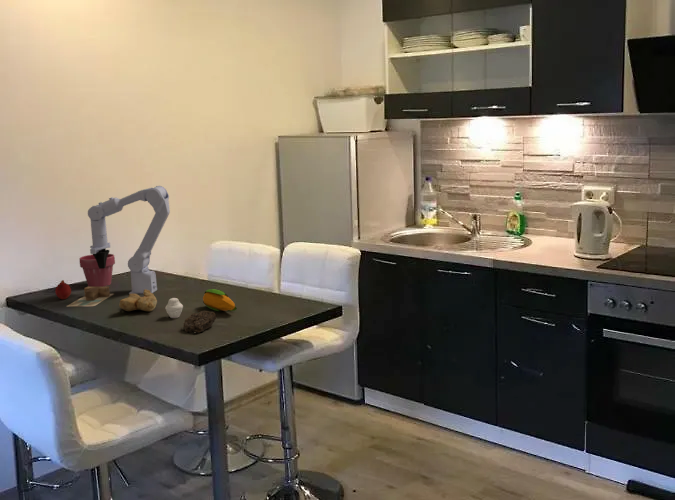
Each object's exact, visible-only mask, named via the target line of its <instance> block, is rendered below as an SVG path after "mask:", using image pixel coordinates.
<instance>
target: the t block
mask: <svg viewBox="0 0 675 500" xmlns="http://www.w3.org/2000/svg"><path fill="white" fill-rule="evenodd" d="M83 289H84V292H83V293H84V296H85V297H86V301H94V300H95V299H97V298H99V297H108V296H109V295H110V294H111V291H110V286H103V287H89V286H86V287H84V288H83Z"/></svg>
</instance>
